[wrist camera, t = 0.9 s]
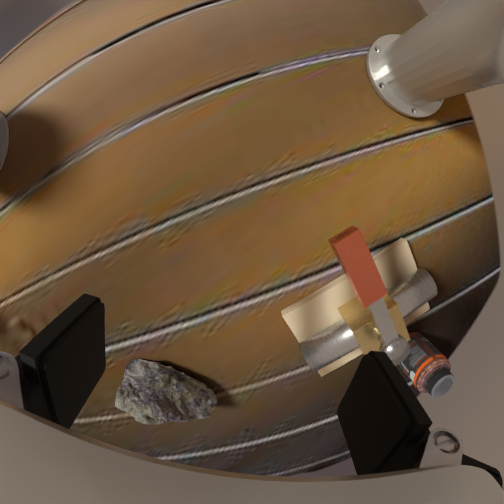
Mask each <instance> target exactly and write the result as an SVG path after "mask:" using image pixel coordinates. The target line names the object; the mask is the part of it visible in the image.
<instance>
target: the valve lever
mask: <svg viewBox="0 0 504 504" xmlns="http://www.w3.org/2000/svg"><path fill="white" fill-rule="evenodd" d="M328 241H329V243H330V245H331V247H332V249H333V251H334V253H335V255H336V256H337V258H338V260H339V262H340V264H341V266H342V268H343V270H344V272H345V274H346V276H347V278H348V280H349V282H350V284H351V286H352V289H353V291H354V293H355V295H356V297H357V299H358V301H359V302H360V303H361V304H362V305H363V307H364V308H366V307H368V309H369V311H370V314H371V316H372V318H373V320H374V323H375V325H376V327H377V330H378V332H379V334H380V336H381V339H382V342H381V344H380V347H379V351H380V352H385V353H386V354H387V355H388V357H389V358H390V359H391V361H392V362H393V364H394V365H398V364H400V363H402V362H403V361H404V360H405V359H406V358H407V357H408V355H409V353H410V344H409V343H408V342H407V341H406V340H405V339H404V337H403V336H402V335H400V334H397V331H396V329H395V326H394V324H393V321H392V319H391V316H390V314H389V311H388V309H387V306H386V304H385V301H384V299H383V296H385V295H386V294H388V293H387V290H386V288H385V285H384V283H383V281H382V278H381V276H380V274H379V271H378V269H377V267H376V264H375V262H374V260H373V258H372V255H371V253H370V251H369V249H368V247H367V244H366V242H365V240H364V238H363V236H362V234H361V232H360V229H358V228H356V227H354V226H351V227H349V228H347V229H346V230H344V231H342V232H341V233H339V234H337V235H336V236H334V237H333V238H331V239H329V240H328Z"/></svg>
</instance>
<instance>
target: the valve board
mask: <svg viewBox="0 0 504 504" xmlns="http://www.w3.org/2000/svg"><path fill="white" fill-rule="evenodd" d="M372 258H373V260H374V262H375V264H376V267H377V269H378V271H379V274H380V276H381V278H382V281H383V283H384V285H385V288H386V290H389V289H390V288H392V287H393V286H395V285H396V284H397V283H399V282H400V281H402V280H403V279H405V278H406V277H408V276H409V275H411V274H412V273H414V272H415V271H416V270H418V269H417V267H416V264H415V261H414V258H413V255H412V253H411V250H410V247H409V245H408V242H407V240H406V239H403V238H400V239H398V240H397V241H395V242H394V243H392V244H391V245H389V246H388V247H386V248H385V249H383V250H382V251H380V252H379V253H377V254H375V255H374V256H372ZM355 297H356V295H355V293H354V291H353V289H352V286H351V284H350V282H349V280H348V278H347V276H346V274H343V275H342V276H340V277H339V278H337V279H335V280H334V281H332V282H330V283H329V284H327V285H325V286H324V287H322V288H320V289H318V290H317V291H315V292H313V293H312V294H310V295H308V296H307V297H305V298H303V299H301V300H300V301H298V302H296V303H294V304H293V305H291V306H289V307H287V308H286V309H284V310H282V311H281V313H282V316H283V318H284V319H285V321H286V323H287V324H288V326H289V327H290V329H291V330H292V332H293V333H294V335H295V337H296V338H297V340H298V341H299V343H300V342H302V341H304V340H306V339H307V338H309V337H311V336H313V335H315V334H316V333H318V332H320V331H322V330H323V329H325V328H327V327H329V326H330V325H332V324H334V323H336V322H337V321H339V320H341V319H342V317H341V315H340V313H339V311H338V309H337V308H338V307H340V306H342V305H343V304H345V303H347V302H348V301H350V300H352V299H353V298H355ZM429 309H430V307H429V304H428V302H427V303H425V304H424V305H423V306H421V307H420V308H418V309H417V310H416V311H414V312H413V313H411V314H410V315H408V316H407V317H406V318H404V319H403V320H404V323H405V325H408V324H409V323H411V322H412V321H414V320H415V319H416V318H418V317H419V316H421V315H422V314H423V313H425V312H426V311H428V310H429ZM361 354H362V353H361V351H360V350H359V348H357V349H355V350H354V351H352V352H350V353H349V354H347V355H345V356H343V357H342V358H340V359H338V360H336V361H334V362H333V363H331V364H329V365H327V366H325V367H324V368H322V369H320V370H318V372H319V374H320V375H321V377H322V376H324V375H326V374H327V373H329V372H331V371H333V370H335V369H337V368H338V367H340V366H342V365H344V364H345V363H347V362H349V361H351V360H352V359H354V358H356V357H358V356H359V355H361Z"/></svg>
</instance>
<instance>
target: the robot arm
mask: <svg viewBox="0 0 504 504" xmlns="http://www.w3.org/2000/svg"><path fill="white" fill-rule="evenodd" d="M367 71H368V76H369V78H370V81H371V83H372V85H373V87H374V89H375V91H376V92H377V93H378V95H379V96H380V97H381V99H382V100H383V101H384V102H385V103H386V104H387V105H388V106H390V107H391V108H392V109H394V110H395V111H397V112H398V113H400V114H402V115H405V116H408V117H412V118H423V117H427V116H430V115H432V114H434V113H435V112H436V111H438V110H439V108H440V107H441V105H442V103H443V101H444V99H446V98H450V97H453V96H456V95H460V94H463V93H467V92H471V91H474V90H478V89H481V88H485V87H489V86H493V85H498V84H502V83H504V0H448V1H447V2H446V3H444V4H443V5H441V6H440V7H438V8H437V9H436V10H435V11H433V12H432V13H430V14H429V15H427V16H426V17H425V18H423V19H422V20H421V21H419V22H418V23H417V24H415V25H414V26H413V27H411V28H410V29H409V30H408V31H406V32H405V33H404V34H402V35H399V34H390V35H385V36H383V37H380V38H379V39H378V40H376V41H375V42H374V43H373V44H372V46H371V47H370V49H369V51H368V54H367ZM379 86H380V87H381V88H380V87H379ZM104 314H105V307H104V304H103V303H101V301H100V298H98V297H95V296H91V295H88V294H83V295H82V296H81V297H80V298H78V299H77V300H76V301H75V302H74V303H73V304H71V305H70V306H69V307H68V308H67V309H66V310H64V311H63V312H62V313H61V314H60V315H59V316H58V317H56V318H55V319H54V320H53V321H52V322H51V323H50V324H49V325H47V326H46V327H45V328H44V329H43V330H42V331H41V332H40V333H39V334H38V335H36V336H35V337H34V338H33V339H32V340H31V341H30V342H29V343H28V344H27V345H26V346H25V347H24V348H23V349H22V350H20V351H19V355H18V356H17V357H16V358H14V357H13V356H11V355H10V354H8V353H4V352H0V504H504V486H503V487H502V484H503V483H502V477H501V475H500V472H499V471H498V470H497V469H496V468H493V467H491V466H489V465H486V464H484V463H482V462H479V461H477V460H475V459H473V458H470V457H468V456H466V455H464V454H463V443H462V441H461V439H460V438H459V437H458V435H457V434H455V433H454V432H453V431H451V430H449V429H445V428H436V429H434V430H432V431H431V432H430V431H429V427H430V426H431V424H432V421H431V420H430V418H429V416H428V415H427V413H426V412H425V410H424V409H423V407H422V406H421V404H420V403H419V401H418V399H417V398H416V396H415V395H414V393H413V392H412V390H411V389H410V387H409V386H408V384H407V383H406V381H405V380H404V378H403V377H402V375H401V374H400V373H399V371H398V370H397V368H396V367H395V365H394V364H393V362H392V361H391V359H390V358H389V357H388V355H387V354H386V353H385V352H380V351H370V352H369V353H368V354H365V355H364V356H363V358H362V360H361V362H360V364H359V367H358V369H357V371H356V373H355V375H354V377H353V379H352V381H351V383H350V385H349V387H348V389H347V391H346V393H345V395H344V397H343V399H342V401H341V403H340V405H339V407H338V410H337V414H338V418H339V421H340V424H341V427H342V430H343V433H344V436H345V439H346V442H347V445H348V448H349V451H350V454H351V457H352V460H353V463H354V466H355V470H356V473H357V475H355V476H339V477H279V476H263V475H251V474H241V473H233V472H225V471H218V470H211V469H205V468H199V467H194V466H189V465H184V464H179V463H174V462H170V461H166V460H161V459H157V458H153V457H150V456H146V455H142V454H139V453H135V452H132V451H129V450H125V449H122V448H119V447H116V446H113V445H110V444H107V443H104V442H101V441H99V440H96V439H93V438H90V437H88V436H85V435H82V434H80V433H77V432H75V431H72V430H70V427H71V426H72V424H73V422H74V421H75V419H76V417H77V415H78V414H79V412H80V410H81V409H82V407H83V405H84V404H85V402H86V400H87V399H88V397H89V396H90V394H91V392H92V391H93V389H94V387H95V386H96V384H97V383H98V381H99V379H100V378H101V376H102V375H103V373H104V371H105V366H106V360H105V324H104Z"/></svg>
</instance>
